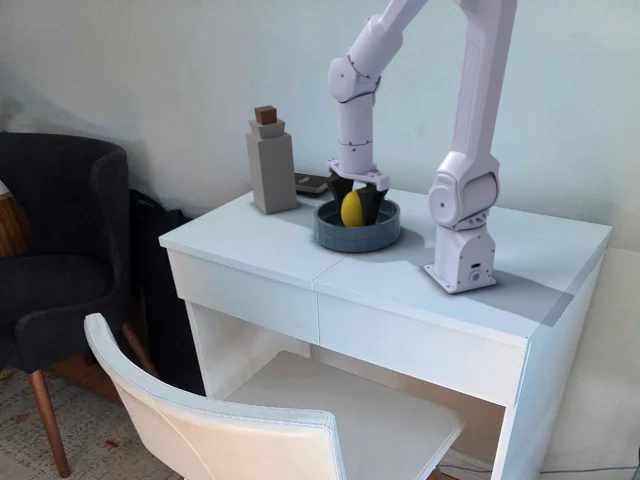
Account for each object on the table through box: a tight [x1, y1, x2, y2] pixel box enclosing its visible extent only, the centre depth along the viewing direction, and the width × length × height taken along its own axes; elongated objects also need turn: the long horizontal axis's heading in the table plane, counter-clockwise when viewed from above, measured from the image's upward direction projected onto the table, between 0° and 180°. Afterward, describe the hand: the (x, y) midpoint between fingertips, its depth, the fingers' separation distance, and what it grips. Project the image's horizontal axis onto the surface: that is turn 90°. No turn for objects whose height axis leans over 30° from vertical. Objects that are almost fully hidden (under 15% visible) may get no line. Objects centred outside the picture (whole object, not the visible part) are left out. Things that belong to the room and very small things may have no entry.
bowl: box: [313, 197, 402, 253], centre depth 109 cm, size 15×15×4 cm
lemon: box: [341, 188, 364, 227], centre depth 107 cm, size 6×6×8 cm
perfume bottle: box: [245, 104, 298, 215], centre depth 118 cm, size 7×7×18 cm
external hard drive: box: [294, 171, 330, 197], centre depth 129 cm, size 7×11×2 cm, turn 59°
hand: (357, 221), depth 108 cm, fingers open, 6 cm apart
